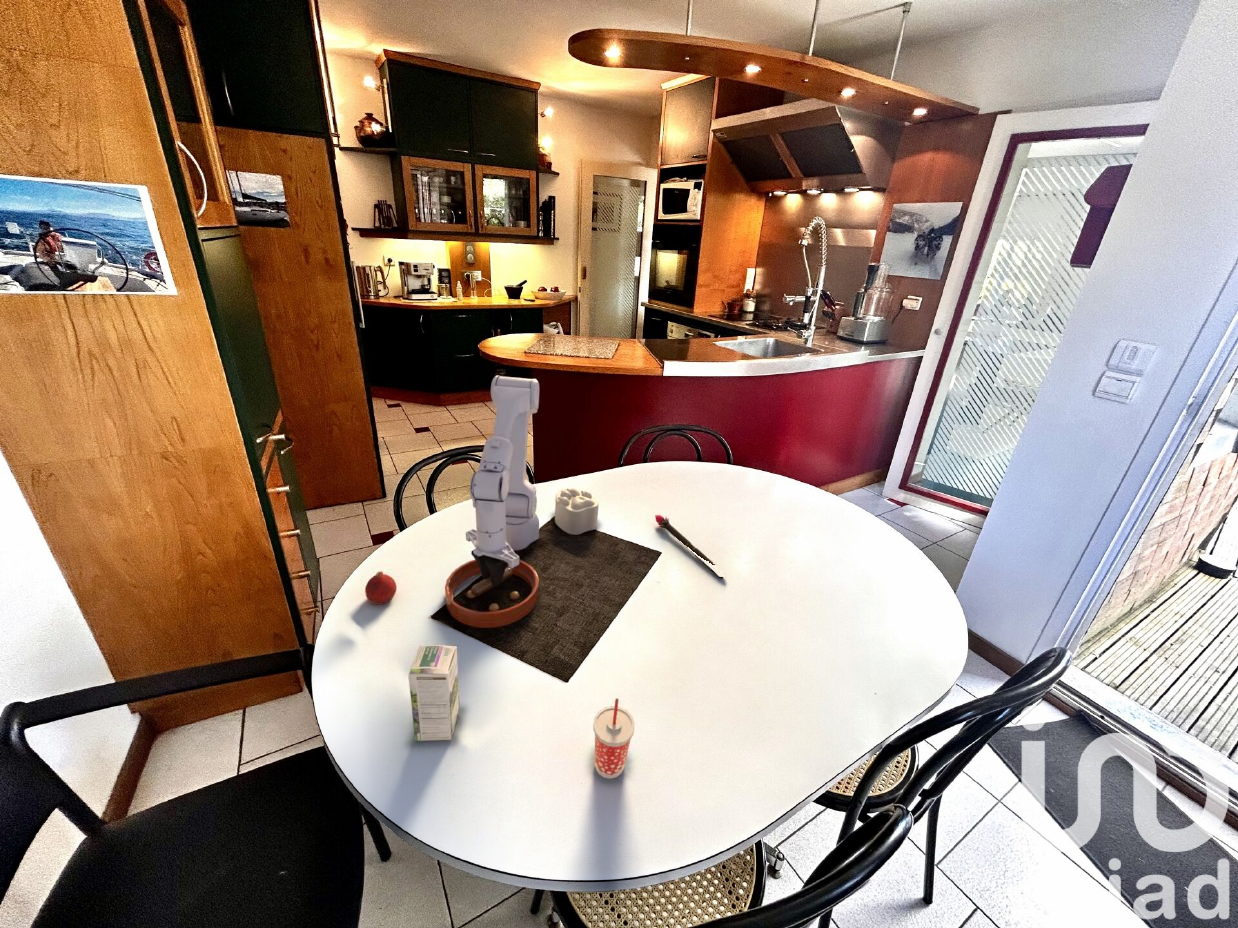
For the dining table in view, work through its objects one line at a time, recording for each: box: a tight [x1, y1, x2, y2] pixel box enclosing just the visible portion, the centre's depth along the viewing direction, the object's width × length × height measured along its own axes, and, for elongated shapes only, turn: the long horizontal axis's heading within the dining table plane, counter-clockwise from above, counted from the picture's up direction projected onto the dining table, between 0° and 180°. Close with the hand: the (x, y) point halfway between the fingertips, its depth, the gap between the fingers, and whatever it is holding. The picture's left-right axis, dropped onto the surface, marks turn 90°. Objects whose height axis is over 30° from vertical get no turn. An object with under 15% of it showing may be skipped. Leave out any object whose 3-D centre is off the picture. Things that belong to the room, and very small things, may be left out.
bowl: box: [444, 559, 539, 629], centre depth 106 cm, size 19×19×5 cm
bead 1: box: [466, 589, 476, 599], centre depth 106 cm, size 2×2×2 cm
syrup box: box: [408, 644, 460, 742], centre depth 76 cm, size 6×6×14 cm
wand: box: [654, 514, 716, 568], centre depth 131 cm, size 4×4×30 cm
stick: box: [470, 567, 514, 597], centre depth 104 cm, size 10×2×2 cm, turn 143°
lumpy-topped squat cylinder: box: [554, 487, 599, 536], centre depth 138 cm, size 10×13×9 cm
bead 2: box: [488, 602, 500, 612], centre depth 102 cm, size 2×2×2 cm
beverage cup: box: [592, 697, 636, 780], centre depth 73 cm, size 6×6×14 cm
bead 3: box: [509, 590, 520, 600], centre depth 106 cm, size 2×2×2 cm
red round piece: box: [364, 570, 398, 605], centre depth 102 cm, size 6×6×8 cm
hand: (492, 580), depth 104 cm, fingers closed on stick, 2 cm apart
